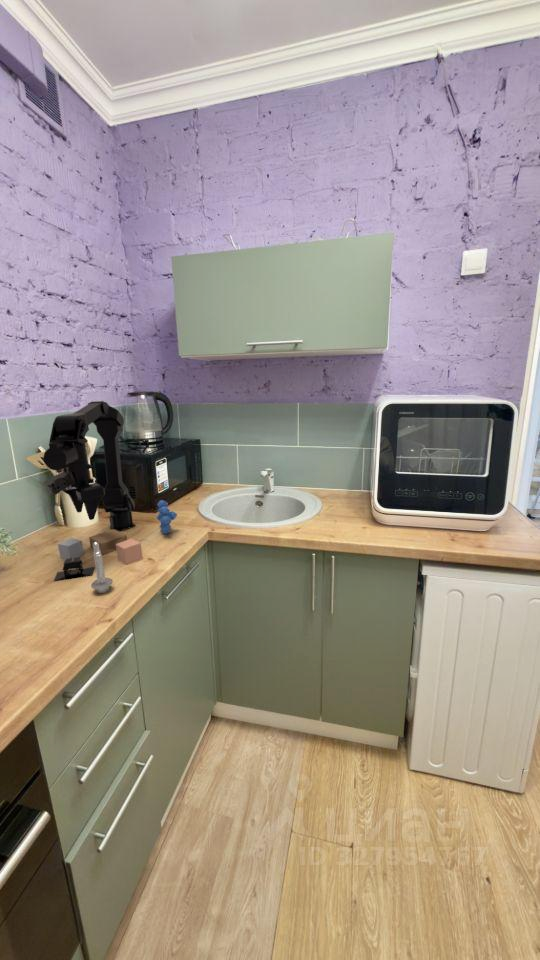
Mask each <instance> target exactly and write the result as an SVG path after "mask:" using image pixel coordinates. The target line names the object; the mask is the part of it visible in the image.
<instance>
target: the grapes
mask: <svg viewBox="0 0 540 960" xmlns="http://www.w3.org/2000/svg"><path fill="white" fill-rule="evenodd" d="M168 505H169V503H168V502H167V501H166V500H163V499H161V500H159V501H158V503H157V505H156V506H157V507H158V508H157V510H156V511H157V512H158V515H157V516H156V519H157V520H158V521H159V522H160V525H159V528H160V532H161V533H162V534H164V535H167V534H169V532H171V528H172V526H171V525H170V524H171V523H172V521H173V520H175V519H176V518H177V517H178V514H177V513H176V512H175V511H173V510H170V508H168Z"/></svg>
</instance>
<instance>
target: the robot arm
mask: <svg viewBox="0 0 540 960" xmlns="http://www.w3.org/2000/svg"><path fill="white" fill-rule="evenodd" d="M124 419H125V418H124V416H123V415H122V413H121V412H120V410H118V409H117V408H115V407H113V406H111V405H109V403H107V402H106V401H104V400H101V401H100V400H99V401H98V400H97V401H90V402H88V403H87V404H86V405H85V406H83V407H82V408H80V409H78V410H76V411H75V412H73V413H68V414H61V415H57V416H55V418H54V421H53V423H52V427H51V433H50V438H49V442H48V447H49V448H48V449H46V451H45V452H44V454H43V458H42V459H43V462H44V465H45V466H46V467H47V468H48V469H50V470H52V471H60V470H62V472H60V473H58V474H56V475H54V476H52V477H50V478H48V479H46V480H45V481H44V482H43V484H44V486H45V488H46V489H47V491H48V492H49V494H52V495H54V496H55V495H57V494H60V493H61V492H63V493H64V494H66V495H68V497H69V498H70V500H71V503H72V504H73V506H74V508H75V510H76V512H77V513H78V514H79V513H82V512H83V506H84V508H85V511H86V515H87V517H88V519H89V520H90V521H93V520H94V519H95V516H96V514H97V512H98V508H99V505H100V503H101V502H102V505H103V508H104V511H105V513H109V516H108V519H109V528H110V529H112V530H113V529H115V530H117V531H119V532H121V531H124V530H127V529H129V527H131V528H134V527H136V524H135V523H134V522H133V515H132V514H133V513H132V512H133V511H135V509H136V508H135V507H136V505H135V503H136V502H135V500H134V499H133V497H132V496H131V495H130V492H129V488H128V487H127V485H126V484H125V483H124V482H123V472H122V462H121V451H120V450H121V449H120V437H121V435H122V434H123V431H124V424H125V420H124ZM92 423H93V424H94V426H96V432H97V434H98V435H99V436H100V437H101V439H102V442H103V450H104V451H103V452H104V463H105V474H106V475H105V476H106V485H105V486H103V485H101V484H100V483H96V482H94V479H93V478H92V477H91V472H90V470H91V469H92V464H91V463H89V458H88V452H87V445H86V443H88V439H87V438H86V435H87V433H88V432H89V430H90V429H89V425H91V424H92ZM133 526H134V527H133ZM123 529H124V530H123Z"/></svg>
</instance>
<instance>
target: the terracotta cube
mask: <svg viewBox="0 0 540 960" xmlns="http://www.w3.org/2000/svg"><path fill="white" fill-rule="evenodd" d="M142 549H143V548H142V543H141V542H140V541H138V540H136V539H134V538H129V539H127V540H126V541H123V542H120V543H117V544H116V555H117V560H118V561H119V562H121V563H122V564H124V565H125V566H128V565H130V564H133V563H135V562H138V561H141V560H143V559H144V558H143V550H142Z"/></svg>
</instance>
